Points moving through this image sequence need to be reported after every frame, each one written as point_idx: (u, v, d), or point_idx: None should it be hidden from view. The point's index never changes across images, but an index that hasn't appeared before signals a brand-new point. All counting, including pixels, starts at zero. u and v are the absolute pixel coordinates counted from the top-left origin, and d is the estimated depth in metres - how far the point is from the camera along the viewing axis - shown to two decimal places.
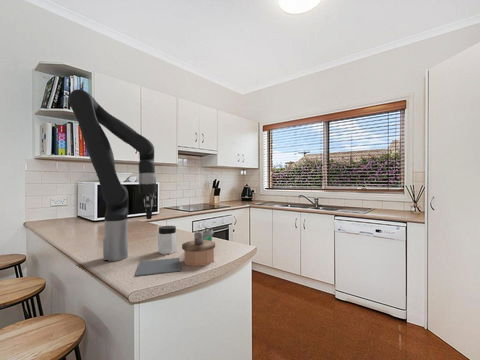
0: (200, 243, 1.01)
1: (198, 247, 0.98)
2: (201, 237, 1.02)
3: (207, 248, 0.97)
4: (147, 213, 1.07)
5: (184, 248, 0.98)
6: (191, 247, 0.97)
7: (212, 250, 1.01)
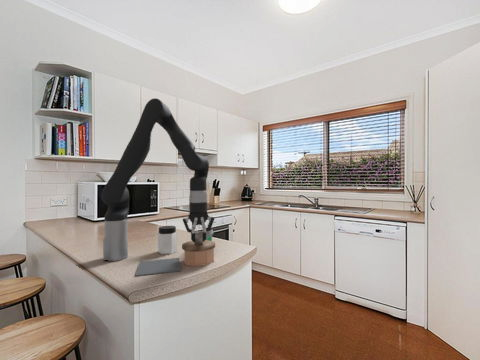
0: (200, 243, 1.01)
1: (198, 247, 0.98)
2: (201, 237, 1.02)
3: (207, 248, 0.97)
4: None
5: (184, 248, 0.98)
6: (191, 247, 0.97)
7: (212, 250, 1.01)
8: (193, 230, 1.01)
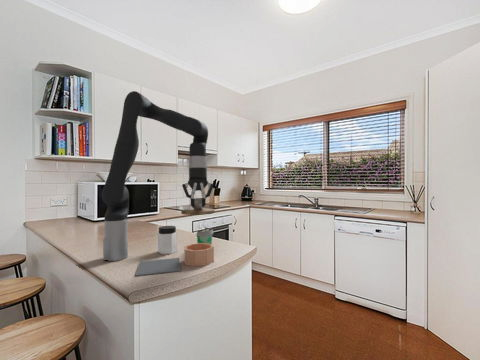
0: (199, 208, 1.01)
1: (197, 211, 0.98)
2: (200, 203, 1.02)
3: (206, 212, 0.98)
4: None
5: (183, 212, 0.98)
6: (190, 211, 0.98)
7: (212, 250, 1.01)
8: (192, 195, 1.01)
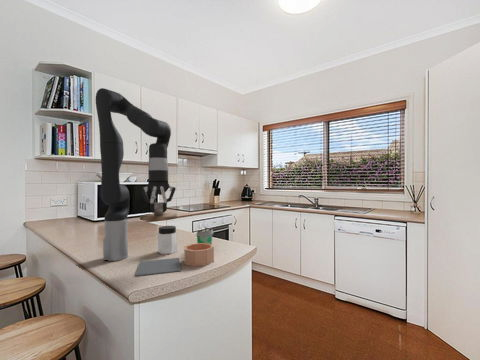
0: (160, 214, 0.95)
1: (156, 216, 0.91)
2: (161, 207, 0.95)
3: (165, 218, 0.91)
4: (166, 205, 0.97)
5: (141, 218, 0.92)
6: (148, 217, 0.91)
7: (212, 250, 1.01)
8: (152, 200, 0.95)
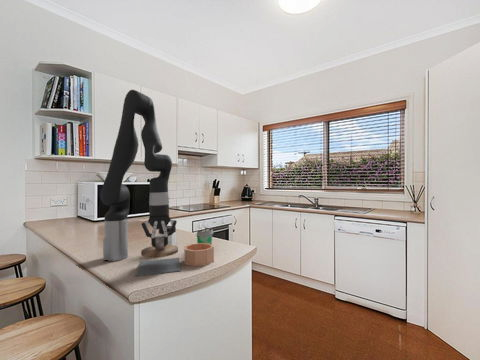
0: (161, 248, 0.95)
1: (157, 252, 0.91)
2: (162, 242, 0.95)
3: (167, 254, 0.91)
4: (167, 239, 0.97)
5: (142, 254, 0.92)
6: (150, 253, 0.91)
7: (212, 250, 1.01)
8: (153, 235, 0.95)
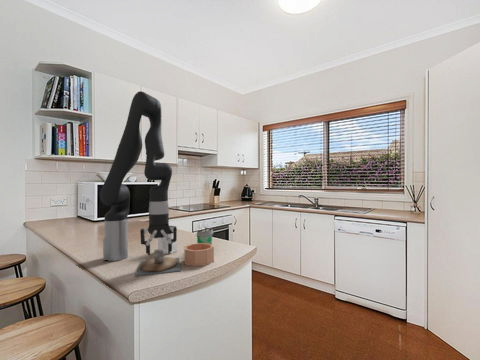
0: (160, 262, 0.95)
1: (156, 267, 0.91)
2: (161, 255, 0.95)
3: (166, 268, 0.91)
4: (171, 246, 0.97)
5: (141, 268, 0.91)
6: (149, 267, 0.91)
7: (212, 250, 1.01)
8: (148, 242, 0.94)
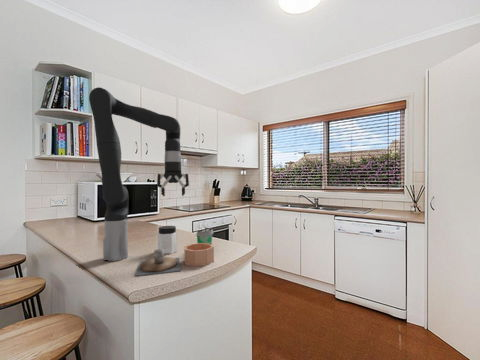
0: (160, 262, 0.95)
1: (156, 267, 0.91)
2: (161, 255, 0.95)
3: (166, 268, 0.91)
4: (184, 190, 1.14)
5: (141, 268, 0.91)
6: (149, 267, 0.91)
7: (212, 250, 1.01)
8: (163, 185, 1.10)
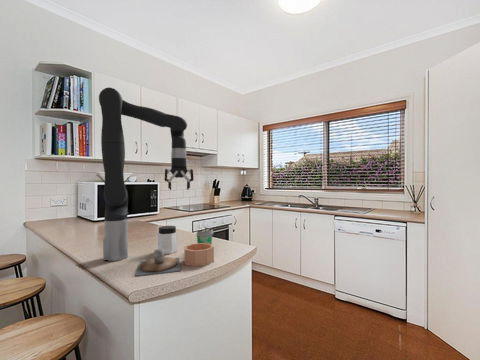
0: (160, 262, 0.95)
1: (156, 267, 0.91)
2: (161, 255, 0.95)
3: (166, 268, 0.91)
4: (189, 184, 1.23)
5: (141, 268, 0.91)
6: (149, 267, 0.91)
7: (212, 250, 1.01)
8: (170, 179, 1.20)
